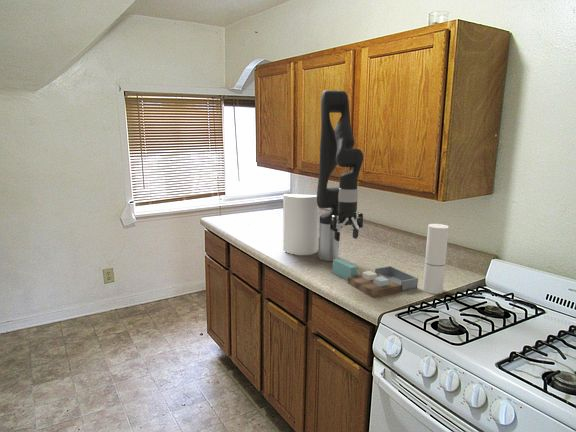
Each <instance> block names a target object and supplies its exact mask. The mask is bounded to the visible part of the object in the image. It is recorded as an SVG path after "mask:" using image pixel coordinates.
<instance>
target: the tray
mask: <svg viewBox="0 0 576 432" xmlns="http://www.w3.org/2000/svg"><path fill="white" fill-rule="evenodd" d="M374 272H375V273H377V274H379V275H381V276H383V277H385V278H387V279H389V280H391V281H394V282H396V283H398V284H400V285H401V292H406V291H410V290H417V289H418V285H419V283H418V282H419V278H418V277H416V276H414V275H412V274H409V273H408V272H405V271H403V270H400V269H399V268H396V267H394V266H392V265H387V266H383V267H376V268H375V269H374Z"/></svg>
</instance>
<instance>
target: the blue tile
mask: <svg viewBox="0 0 576 432" xmlns="http://www.w3.org/2000/svg"><path fill="white" fill-rule="evenodd" d="M373 283H374V284H376V285H378V286H385V285H389V280H388V279H386V278H384V277H382V276H381V277H376V278H374V279H373Z"/></svg>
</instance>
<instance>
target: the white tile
mask: <svg viewBox="0 0 576 432" xmlns="http://www.w3.org/2000/svg"><path fill="white" fill-rule="evenodd" d="M374 272H375V271H372V270H367V271H362V272H361V274H362V277H363V278H365V279H367V280H373V279H374V278H376V277H377V274H376V273H374Z"/></svg>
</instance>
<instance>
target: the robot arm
mask: <svg viewBox="0 0 576 432" xmlns="http://www.w3.org/2000/svg"><path fill="white" fill-rule="evenodd" d="M349 102H350V101H349V96H348V94H347V92H346V91H345V90H339V89H338V90H337V89H336V90H335V89H334V90H332V89H326V90H323V91H322V94H321V97H320V116H321V117H320V120H321V121H320V125H321V126H320V129H321V130H320V142H319V143H320V145H319V168H318V172H319V173H318V182H317V190H316V195H317V205H318V207H319V208H320V209H330V210H328V211H327V212H325V213H323V214H321V215H319V226H318V251H317V257H318V259H319V260H321V261H327V262H333V260H334V259H339V253H340V252H339V251H340V241H341V239H340V238H341V230H342V229H343V228H344V226H352V238H353V239H358V237H359V230H360V229H361V228H364V214H363V212H357V211H358V197H359V196H358V194H359V193H358V182H359V181H358V179H359V175H360V171H361V168H362V165H363V161H364V153H363V151H362V150H361V149H359V148H354V146H355V138H354V135H353V134H354V133H353V131H352V130H353V129H352V125H351V113H350V112H351V111H350V103H349ZM330 113H334V114H339V113H340V114H341V116H340V117H339V120H338V122H337V123H336V125H335V127H334V128H333V125H332V122H331V118H330V117H331V115H330ZM337 167H339V168H351V169H350V170H349V171H348V172H344V173H341V174H340V175H339V182H338V183H339V185H338V187H328V182H329V179H330V177H331V175H332V173H333V172H334V171H335V169H336V168H337Z"/></svg>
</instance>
